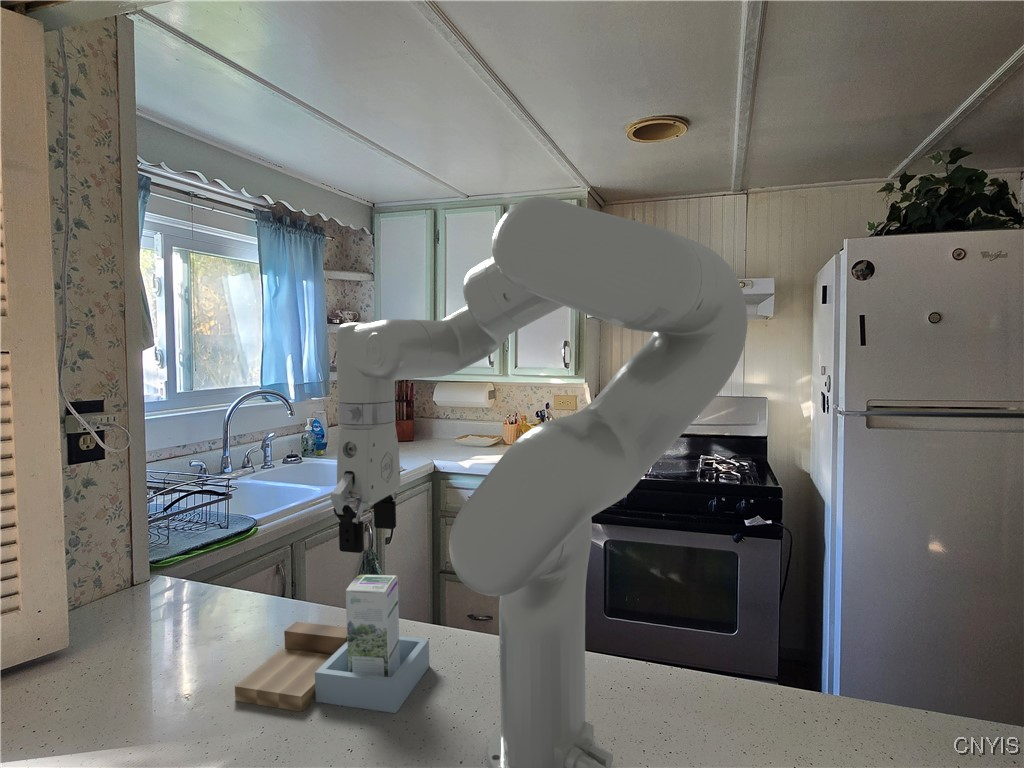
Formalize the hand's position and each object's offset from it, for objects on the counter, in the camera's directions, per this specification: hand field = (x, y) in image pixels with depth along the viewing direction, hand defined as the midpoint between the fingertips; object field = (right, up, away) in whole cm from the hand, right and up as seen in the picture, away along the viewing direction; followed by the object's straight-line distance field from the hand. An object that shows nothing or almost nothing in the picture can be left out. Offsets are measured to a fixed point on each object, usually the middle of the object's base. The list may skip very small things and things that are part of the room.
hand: (369, 539), depth 81 cm
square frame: (+1, -20, +1) cm, 20 cm away
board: (-11, -20, +1) cm, 23 cm away
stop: (-9, -20, +8) cm, 23 cm away
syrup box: (+1, -20, +1) cm, 21 cm away
